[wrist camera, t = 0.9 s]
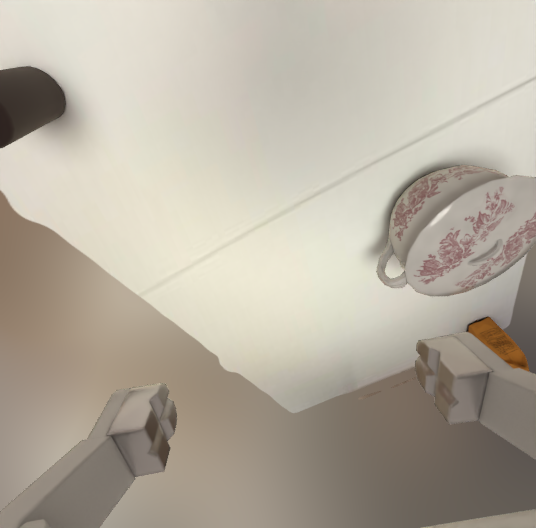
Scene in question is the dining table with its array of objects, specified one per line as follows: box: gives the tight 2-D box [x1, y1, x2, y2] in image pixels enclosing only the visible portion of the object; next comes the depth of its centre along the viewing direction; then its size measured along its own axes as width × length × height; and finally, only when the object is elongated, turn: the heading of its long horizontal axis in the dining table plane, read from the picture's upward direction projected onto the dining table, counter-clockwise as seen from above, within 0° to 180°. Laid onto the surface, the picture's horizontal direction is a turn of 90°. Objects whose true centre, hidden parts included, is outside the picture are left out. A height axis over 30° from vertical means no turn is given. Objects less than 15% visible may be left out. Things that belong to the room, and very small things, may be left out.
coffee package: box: [468, 317, 529, 372], centre depth 97 cm, size 10×12×22 cm
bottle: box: [0, 66, 65, 148], centre depth 33 cm, size 7×7×20 cm
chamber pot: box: [376, 165, 536, 296], centre depth 57 cm, size 28×28×21 cm
